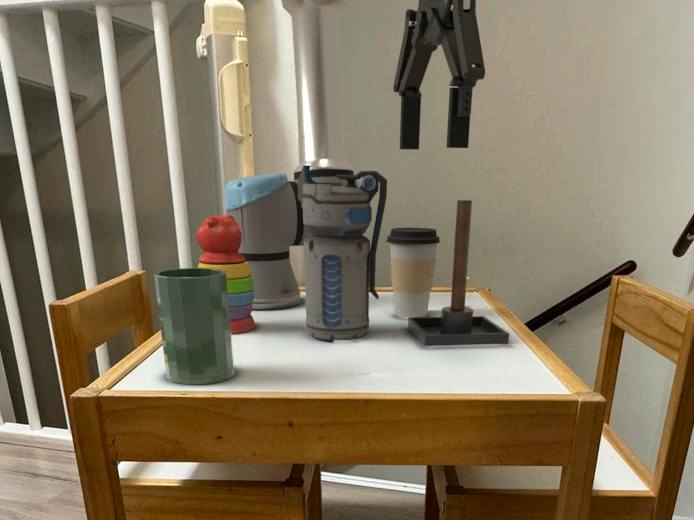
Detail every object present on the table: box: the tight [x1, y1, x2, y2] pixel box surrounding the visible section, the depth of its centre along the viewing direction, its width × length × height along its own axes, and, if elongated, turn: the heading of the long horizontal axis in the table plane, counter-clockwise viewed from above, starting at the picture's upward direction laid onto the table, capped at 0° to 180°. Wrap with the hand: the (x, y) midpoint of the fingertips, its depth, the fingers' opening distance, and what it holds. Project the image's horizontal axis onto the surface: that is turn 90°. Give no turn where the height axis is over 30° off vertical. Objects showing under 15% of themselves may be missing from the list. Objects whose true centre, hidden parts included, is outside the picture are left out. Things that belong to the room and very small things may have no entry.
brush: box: [440, 199, 474, 334], centre depth 103 cm, size 5×5×20 cm
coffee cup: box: [386, 227, 441, 318], centre depth 119 cm, size 9×9×15 cm
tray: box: [407, 315, 510, 347], centre depth 107 cm, size 13×13×2 cm
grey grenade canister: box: [298, 165, 388, 342], centre depth 103 cm, size 10×13×25 cm
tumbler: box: [153, 267, 235, 385], centre depth 85 cm, size 9×9×13 cm
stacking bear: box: [195, 215, 256, 334], centre depth 109 cm, size 11×10×18 cm
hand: (431, 149), depth 90 cm, fingers open, 13 cm apart
